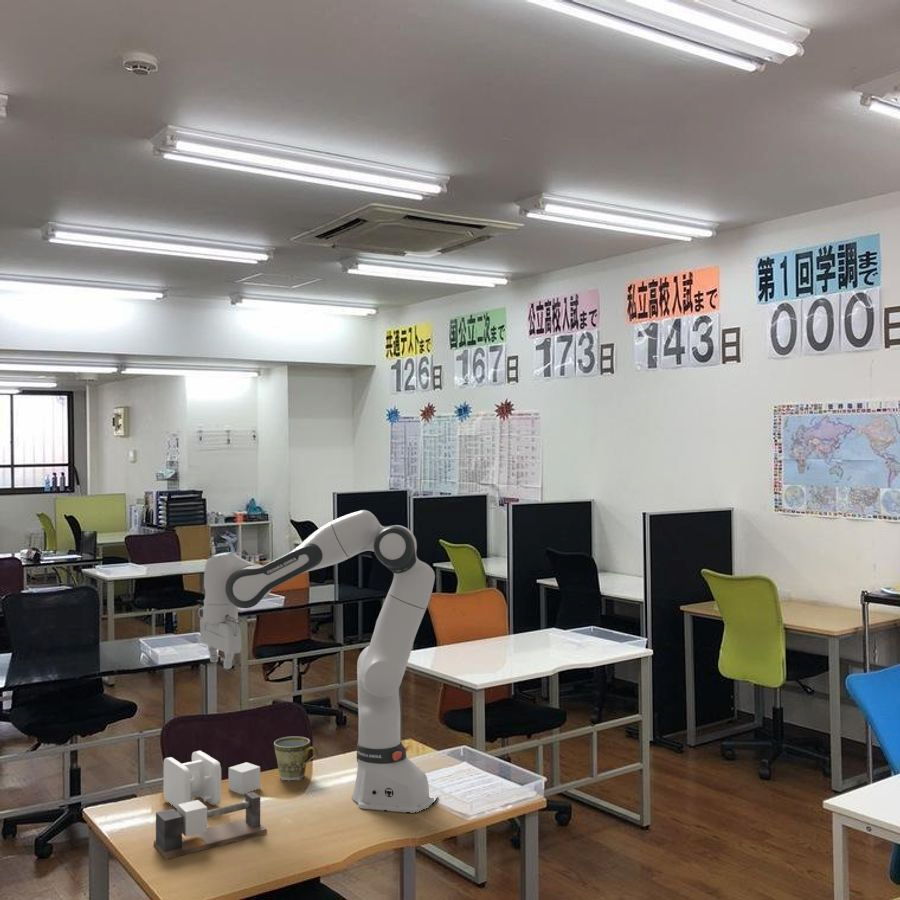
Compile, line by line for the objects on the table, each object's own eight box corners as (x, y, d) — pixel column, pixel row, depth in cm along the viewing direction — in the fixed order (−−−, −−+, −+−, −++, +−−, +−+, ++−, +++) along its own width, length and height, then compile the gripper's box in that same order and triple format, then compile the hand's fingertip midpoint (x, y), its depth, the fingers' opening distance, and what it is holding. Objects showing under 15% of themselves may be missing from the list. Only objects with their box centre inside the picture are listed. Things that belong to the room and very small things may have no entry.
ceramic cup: (266, 780, 254) (266, 744, 254) (286, 769, 263) (286, 734, 264) (306, 787, 249) (306, 750, 249) (325, 775, 258) (325, 739, 258)
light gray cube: (242, 795, 244) (242, 772, 244) (228, 790, 247) (228, 767, 247) (260, 788, 248) (260, 766, 248) (246, 783, 252) (246, 762, 252)
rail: (251, 821, 226) (251, 788, 226) (266, 833, 218) (266, 799, 219) (153, 845, 212) (153, 810, 212) (166, 858, 204) (166, 822, 205)
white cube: (198, 823, 216) (198, 799, 216) (207, 831, 212) (207, 807, 212) (177, 828, 213) (177, 804, 213) (185, 836, 209) (185, 812, 209)
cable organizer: (161, 800, 240) (161, 755, 240) (199, 790, 247) (199, 747, 247) (184, 817, 228) (184, 770, 228) (223, 807, 235) (223, 761, 235)
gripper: (247, 617, 239) (247, 670, 239) (218, 607, 255) (217, 656, 255) (224, 619, 235) (224, 674, 235) (196, 609, 252) (195, 659, 252)
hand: (220, 665), depth 245 cm, fingers open, 8 cm apart
